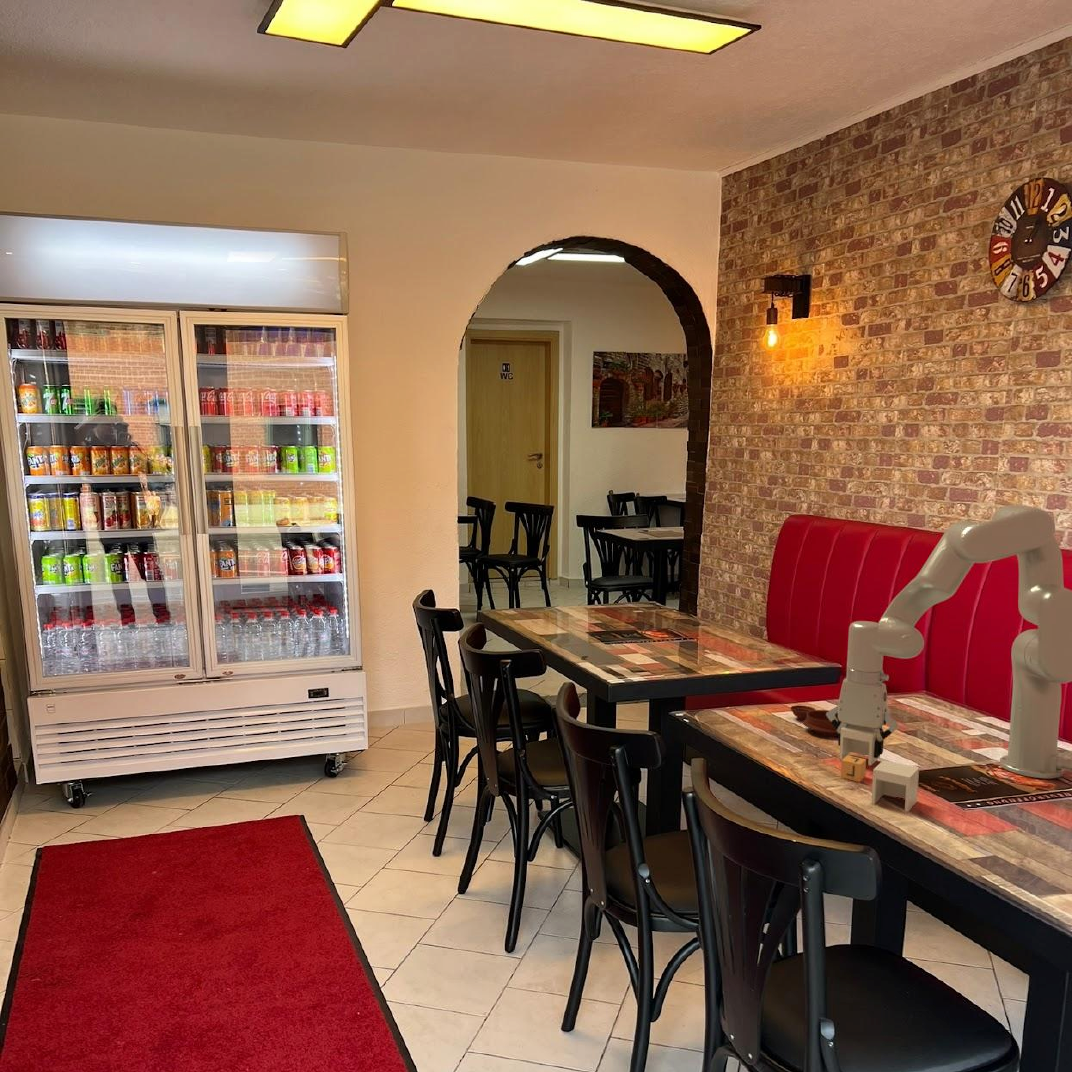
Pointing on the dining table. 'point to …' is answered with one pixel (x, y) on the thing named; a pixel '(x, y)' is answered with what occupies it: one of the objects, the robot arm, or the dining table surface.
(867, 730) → the cover cube
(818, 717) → the pottery
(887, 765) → the cover empty
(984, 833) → the dining table surface
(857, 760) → the letter cube
